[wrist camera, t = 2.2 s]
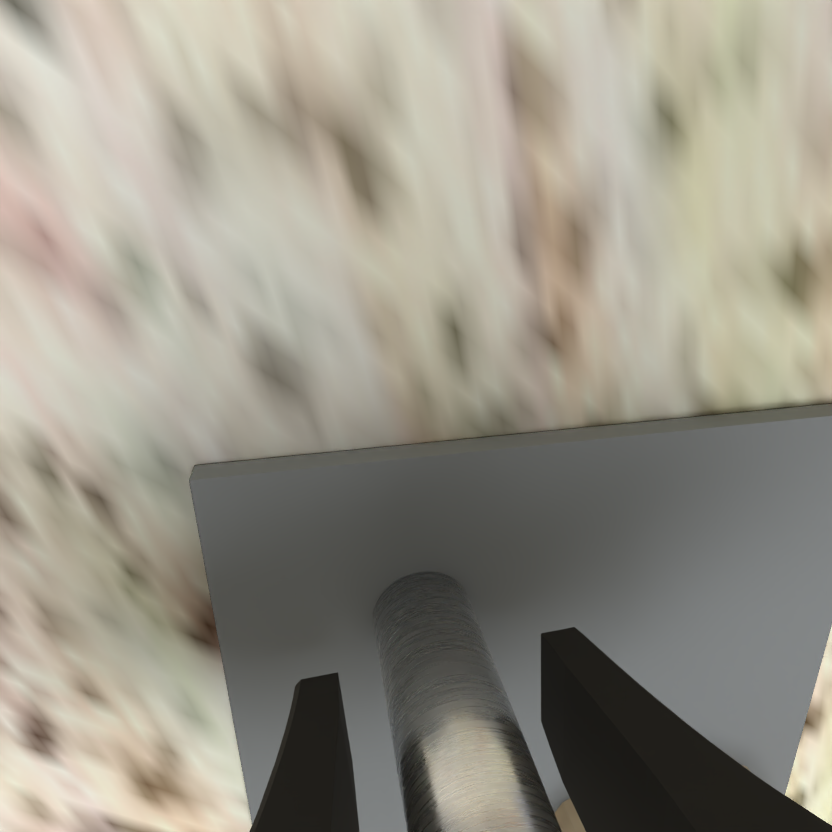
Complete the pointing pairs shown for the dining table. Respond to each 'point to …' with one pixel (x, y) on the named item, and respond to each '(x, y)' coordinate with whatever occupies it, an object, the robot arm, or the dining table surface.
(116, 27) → the dining table surface
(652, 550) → the mat
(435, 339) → the dining table surface
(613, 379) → the dining table surface
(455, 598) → the steel peg
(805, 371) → the dining table surface
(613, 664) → the robot arm
